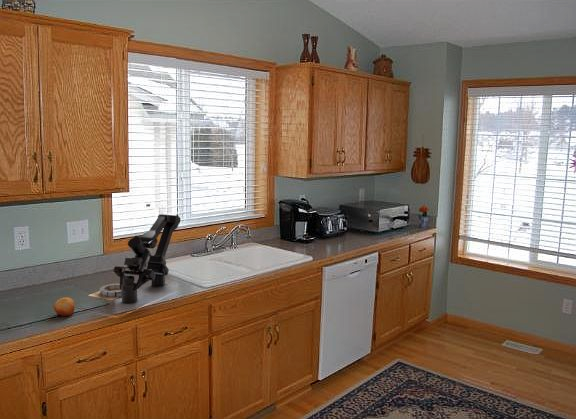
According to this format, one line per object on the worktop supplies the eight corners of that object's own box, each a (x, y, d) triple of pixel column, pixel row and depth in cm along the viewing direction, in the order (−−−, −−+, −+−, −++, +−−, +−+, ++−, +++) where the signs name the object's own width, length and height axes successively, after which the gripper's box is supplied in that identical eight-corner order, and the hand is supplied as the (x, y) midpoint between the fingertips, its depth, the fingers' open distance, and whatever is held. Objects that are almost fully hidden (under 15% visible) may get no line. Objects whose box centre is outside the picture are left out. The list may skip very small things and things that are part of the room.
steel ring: (114, 286, 247) (114, 282, 247) (136, 291, 242) (136, 286, 241) (93, 294, 235) (93, 289, 235) (115, 299, 230) (115, 294, 229)
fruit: (79, 306, 217) (75, 294, 212) (74, 321, 211) (69, 309, 206) (60, 306, 217) (55, 293, 212) (54, 321, 211) (49, 308, 206)
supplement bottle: (131, 299, 232) (131, 274, 230) (140, 303, 228) (140, 277, 226) (118, 303, 227) (117, 277, 225) (127, 306, 223) (126, 280, 221)
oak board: (116, 286, 250) (116, 285, 250) (138, 291, 244) (138, 289, 244) (87, 296, 234) (87, 295, 234) (111, 302, 228) (111, 300, 228)
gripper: (114, 248, 230) (101, 278, 221) (152, 252, 226) (139, 282, 217) (124, 261, 239) (111, 290, 230) (161, 264, 234) (149, 295, 225)
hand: (127, 289), depth 225 cm, fingers closed on supplement bottle, 7 cm apart
